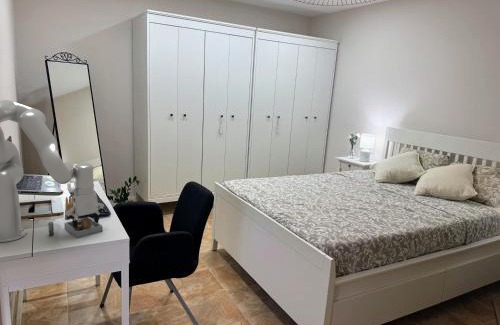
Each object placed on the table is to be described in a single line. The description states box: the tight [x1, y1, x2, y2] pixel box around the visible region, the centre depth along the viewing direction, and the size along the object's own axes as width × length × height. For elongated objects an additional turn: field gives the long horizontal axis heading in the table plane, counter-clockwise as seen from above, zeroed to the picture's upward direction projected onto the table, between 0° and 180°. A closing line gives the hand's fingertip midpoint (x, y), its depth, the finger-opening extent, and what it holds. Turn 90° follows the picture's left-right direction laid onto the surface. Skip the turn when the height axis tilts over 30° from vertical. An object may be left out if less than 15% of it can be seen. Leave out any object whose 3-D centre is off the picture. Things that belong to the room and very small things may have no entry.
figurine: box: [66, 179, 76, 201], centre depth 196 cm, size 7×9×15 cm
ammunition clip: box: [64, 194, 80, 221], centre depth 182 cm, size 11×2×12 cm, turn 147°
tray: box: [63, 216, 104, 239], centre depth 168 cm, size 12×14×3 cm
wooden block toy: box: [72, 216, 92, 231], centre depth 167 cm, size 6×10×6 cm, turn 48°
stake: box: [47, 221, 55, 237], centre depth 160 cm, size 2×2×6 cm
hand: (86, 224), depth 165 cm, fingers open, 9 cm apart
